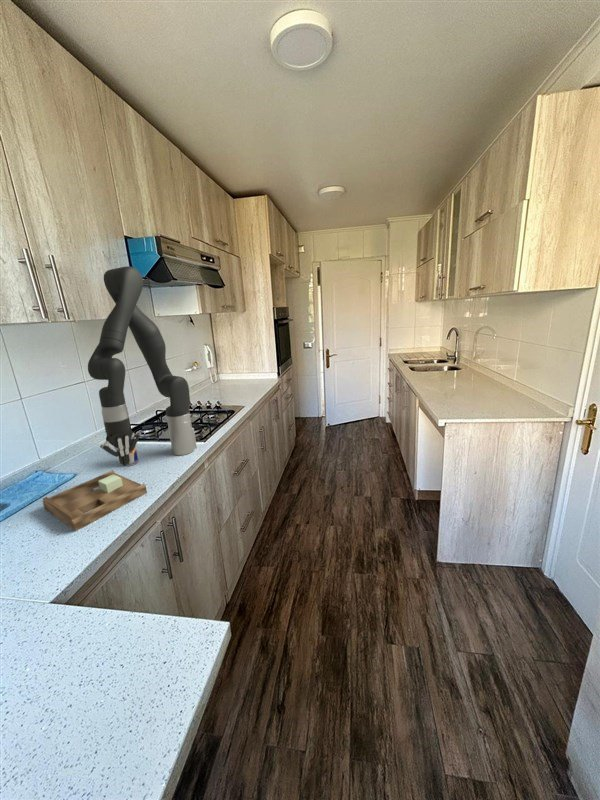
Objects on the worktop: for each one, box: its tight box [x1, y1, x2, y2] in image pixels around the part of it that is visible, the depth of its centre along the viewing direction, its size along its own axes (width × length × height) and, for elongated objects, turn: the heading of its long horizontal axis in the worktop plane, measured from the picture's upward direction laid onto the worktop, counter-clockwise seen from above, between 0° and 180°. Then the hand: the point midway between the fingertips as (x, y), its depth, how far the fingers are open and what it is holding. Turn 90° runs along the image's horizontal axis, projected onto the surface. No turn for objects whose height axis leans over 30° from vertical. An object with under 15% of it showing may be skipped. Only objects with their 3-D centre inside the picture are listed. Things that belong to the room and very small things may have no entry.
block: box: [98, 474, 123, 493], centre depth 108 cm, size 5×5×3 cm
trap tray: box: [42, 470, 148, 532], centre depth 105 cm, size 22×20×4 cm
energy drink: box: [124, 439, 139, 467], centre depth 129 cm, size 5×5×12 cm
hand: (125, 464), depth 112 cm, fingers closed
